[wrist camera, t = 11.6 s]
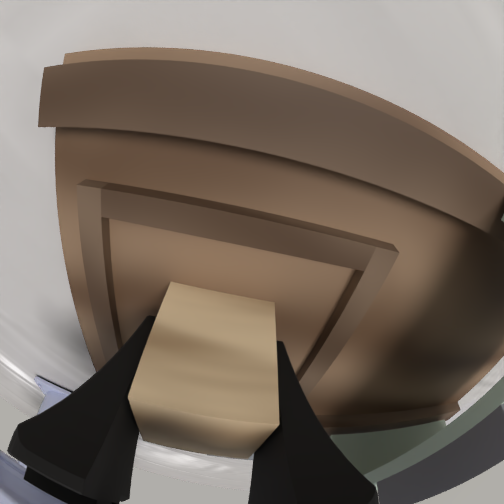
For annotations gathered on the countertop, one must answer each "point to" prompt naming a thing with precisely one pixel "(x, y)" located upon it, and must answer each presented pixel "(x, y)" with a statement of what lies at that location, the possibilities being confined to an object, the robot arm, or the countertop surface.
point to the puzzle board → (282, 222)
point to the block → (208, 374)
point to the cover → (430, 451)
